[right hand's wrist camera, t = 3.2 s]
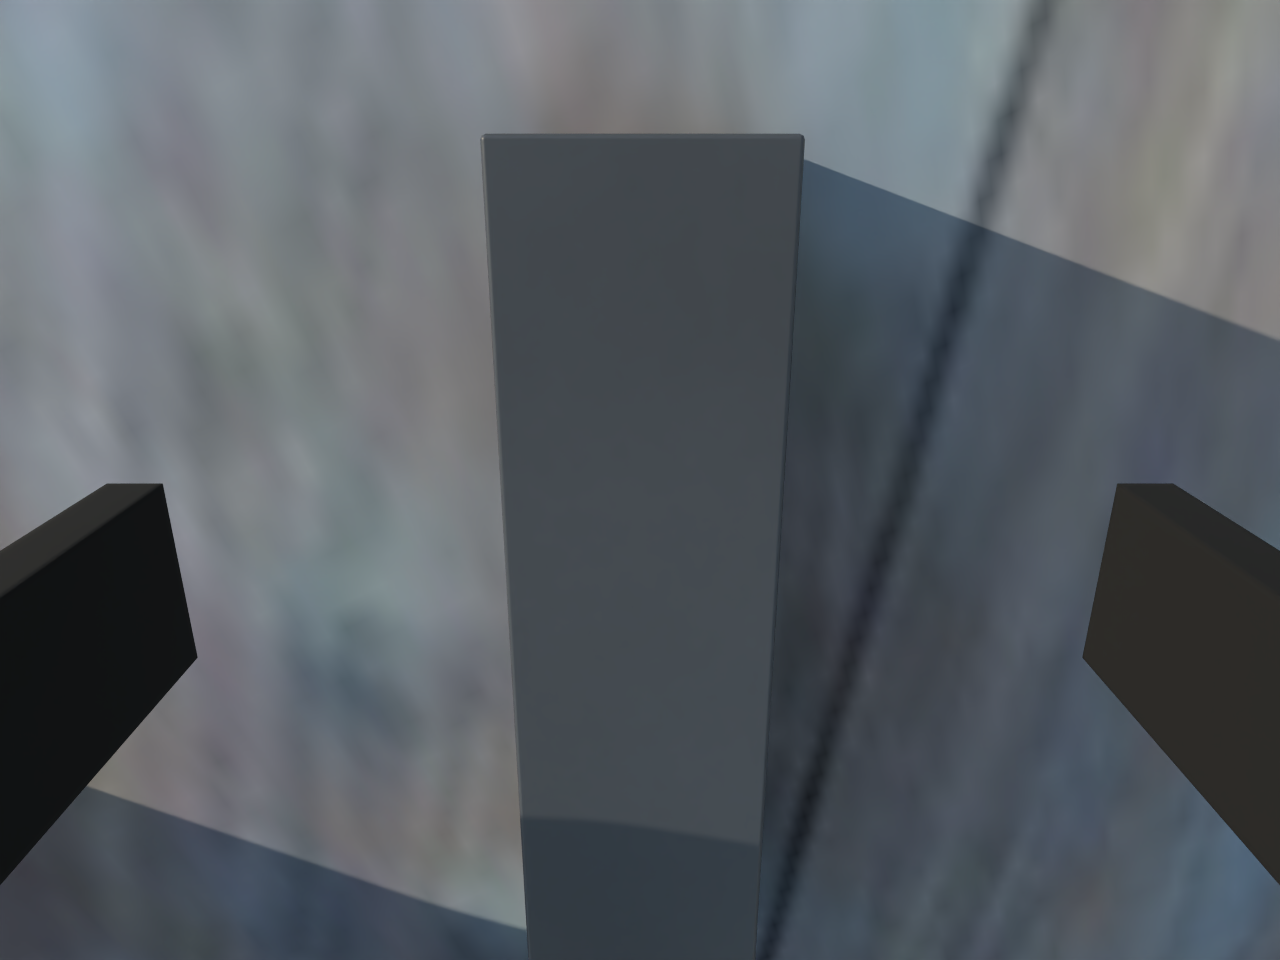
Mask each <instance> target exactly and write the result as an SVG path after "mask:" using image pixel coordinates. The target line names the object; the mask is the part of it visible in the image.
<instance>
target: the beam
mask: <svg viewBox="0 0 1280 960" xmlns="http://www.w3.org/2000/svg"><path fill="white" fill-rule="evenodd" d="M804 144H805V139H804V136H803V135H801V134H484V135H482V137H481V157H482V174H483V192H484V209H485V226H486V243H487V260H488V277H489V294H490V311H491V328H492V345H493V362H494V379H495V396H496V413H497V430H498V447H499V464H500V481H501V498H502V516H503V533H504V550H505V567H506V584H507V601H508V618H509V635H510V652H511V669H512V686H513V703H514V720H515V737H516V754H517V771H518V788H519V805H520V822H521V840H522V857H523V874H524V891H525V908H526V925H527V942H528V959H529V960H755V953H756V937H757V920H758V904H759V887H760V871H761V854H762V838H763V821H764V805H765V788H766V772H767V755H768V739H769V722H770V706H771V689H772V673H773V656H774V640H775V623H776V607H777V590H778V574H779V557H780V541H781V524H782V508H783V491H784V475H785V458H786V442H787V425H788V409H789V392H790V376H791V359H792V343H793V326H794V310H795V293H796V277H797V260H798V243H799V227H800V210H801V194H802V177H803V161H804Z"/></svg>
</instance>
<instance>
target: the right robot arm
mask: <svg viewBox="0 0 1280 960" xmlns="http://www.w3.org/2000/svg"><path fill="white" fill-rule="evenodd" d="M197 658H198V657H197V652H196V647H195V643H194V638H193V633H192V628H191V623H190V618H189V613H188V608H187V603H186V598H185V593H184V588H183V583H182V578H181V573H180V568H179V563H178V558H177V553H176V548H175V543H174V538H173V533H172V528H171V523H170V518H169V513H168V508H167V503H166V498H165V493H164V488H163V484H106V485H104V486H102V487H101V488H99V489H98V490H96V491H94V492H93V493H91V494H90V495H88V496H87V497H85V498H83V499H82V500H80V501H79V502H77V503H75V504H74V505H72V506H71V507H69V508H68V509H66V510H64V511H63V512H61V513H60V514H58V515H56V516H55V517H53V518H52V519H50V520H48V521H47V522H45V523H44V524H42V525H41V526H39V527H37V528H36V529H34V530H33V531H31V532H29V533H28V534H26V535H25V536H23V537H22V538H20V539H18V540H17V541H15V542H14V543H12V544H10V545H9V546H7V547H6V548H4V549H3V550H1V551H0V885H1V883H2V882H3V881H4V880H5V879H6V878H7V877H8V875H9V874H10V873H11V872H12V871H13V870H14V869H15V867H16V866H17V865H18V864H19V863H20V862H21V860H22V859H23V858H24V857H25V856H26V855H27V854H28V852H29V851H30V850H31V849H32V848H33V847H34V845H35V844H36V843H37V842H38V841H39V840H40V839H41V837H42V836H43V835H44V834H45V833H46V832H47V830H48V829H49V828H50V827H51V826H52V825H53V824H54V822H55V821H56V820H57V819H58V818H59V817H60V815H61V814H62V813H63V812H64V811H65V810H66V809H67V807H68V806H69V805H70V804H71V803H72V802H73V800H74V799H75V798H76V797H77V796H78V795H79V794H80V792H81V791H82V790H83V789H84V788H85V787H86V786H87V784H88V783H89V782H90V781H91V780H92V779H93V777H94V776H95V775H96V774H97V773H98V772H99V771H100V769H101V768H102V767H103V766H104V765H105V764H106V762H107V761H108V760H109V759H110V758H111V757H112V756H113V754H114V753H115V752H116V751H117V750H118V749H119V747H120V746H121V745H122V744H123V743H124V742H125V741H126V739H127V738H128V737H129V736H130V735H131V734H132V732H133V731H134V730H135V729H136V728H137V727H138V726H139V724H140V723H141V722H142V721H143V720H144V719H145V717H146V716H147V715H148V714H149V713H150V712H151V711H152V709H153V708H154V707H155V706H156V705H157V704H158V703H159V701H160V700H161V699H162V698H163V697H164V696H165V694H166V693H167V692H168V691H169V690H170V689H171V688H172V686H173V685H174V684H175V683H176V682H177V681H178V679H179V678H180V677H181V676H182V675H183V674H184V673H185V671H186V670H187V669H188V668H189V667H190V666H191V664H192V663H193V662H194V661H195V660H196V659H197ZM1082 658H1083V659H1084V660H1085V661H1086V662H1087V663H1088V664H1089V666H1090V667H1091V668H1092V669H1093V670H1094V671H1095V673H1096V674H1097V675H1098V676H1099V677H1100V678H1101V679H1102V681H1103V682H1104V683H1105V684H1106V685H1107V686H1108V688H1109V689H1110V690H1111V691H1112V692H1113V693H1114V694H1115V696H1116V697H1117V698H1118V699H1119V700H1120V701H1121V703H1122V704H1123V705H1124V706H1125V707H1126V708H1127V709H1128V711H1129V712H1130V713H1131V714H1132V715H1133V716H1134V717H1135V719H1136V720H1137V721H1138V722H1139V723H1140V724H1141V726H1142V727H1143V728H1144V729H1145V730H1146V731H1147V732H1148V734H1149V735H1150V736H1151V737H1152V738H1153V739H1154V741H1155V742H1156V743H1157V744H1158V745H1159V746H1160V747H1161V749H1162V750H1163V751H1164V752H1165V753H1166V754H1167V756H1168V757H1169V758H1170V759H1171V760H1172V761H1173V762H1174V764H1175V765H1176V766H1177V767H1178V768H1179V769H1180V771H1181V772H1182V773H1183V774H1184V775H1185V776H1186V777H1187V779H1188V780H1189V781H1190V782H1191V783H1192V784H1193V786H1194V787H1195V788H1196V789H1197V790H1198V791H1199V792H1200V794H1201V795H1202V796H1203V797H1204V798H1205V799H1206V800H1207V802H1208V803H1209V804H1210V805H1211V806H1212V807H1213V809H1214V810H1215V811H1216V812H1217V813H1218V814H1219V815H1220V817H1221V818H1222V819H1223V820H1224V821H1225V822H1226V824H1227V825H1228V826H1229V827H1230V828H1231V829H1232V830H1233V832H1234V833H1235V834H1236V835H1237V836H1238V837H1239V839H1240V840H1241V841H1242V842H1243V843H1244V844H1245V845H1246V847H1247V848H1248V849H1249V850H1250V851H1251V852H1252V854H1253V855H1254V856H1255V857H1256V858H1257V859H1258V860H1259V862H1260V863H1261V864H1262V865H1263V866H1264V867H1265V869H1266V870H1267V871H1268V872H1269V873H1270V874H1271V875H1272V877H1273V878H1274V879H1275V880H1276V881H1277V882H1278V883H1279V885H1280V551H1279V550H1277V549H1276V548H1274V547H1273V546H1271V545H1270V544H1268V543H1266V542H1265V541H1263V540H1262V539H1260V538H1258V537H1257V536H1255V535H1254V534H1252V533H1251V532H1249V531H1247V530H1246V529H1244V528H1243V527H1241V526H1239V525H1238V524H1236V523H1235V522H1233V521H1232V520H1230V519H1228V518H1227V517H1225V516H1224V515H1222V514H1220V513H1219V512H1217V511H1216V510H1214V509H1212V508H1211V507H1209V506H1208V505H1206V504H1205V503H1203V502H1201V501H1200V500H1198V499H1197V498H1195V497H1193V496H1192V495H1190V494H1189V493H1187V492H1186V491H1184V490H1182V489H1181V488H1179V487H1178V486H1176V485H1174V484H1117V488H1116V493H1115V498H1114V503H1113V508H1112V513H1111V518H1110V523H1109V528H1108V533H1107V538H1106V543H1105V548H1104V553H1103V558H1102V563H1101V568H1100V573H1099V578H1098V583H1097V588H1096V593H1095V598H1094V603H1093V608H1092V613H1091V618H1090V623H1089V628H1088V633H1087V638H1086V643H1085V647H1084V652H1083V657H1082Z"/></svg>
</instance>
